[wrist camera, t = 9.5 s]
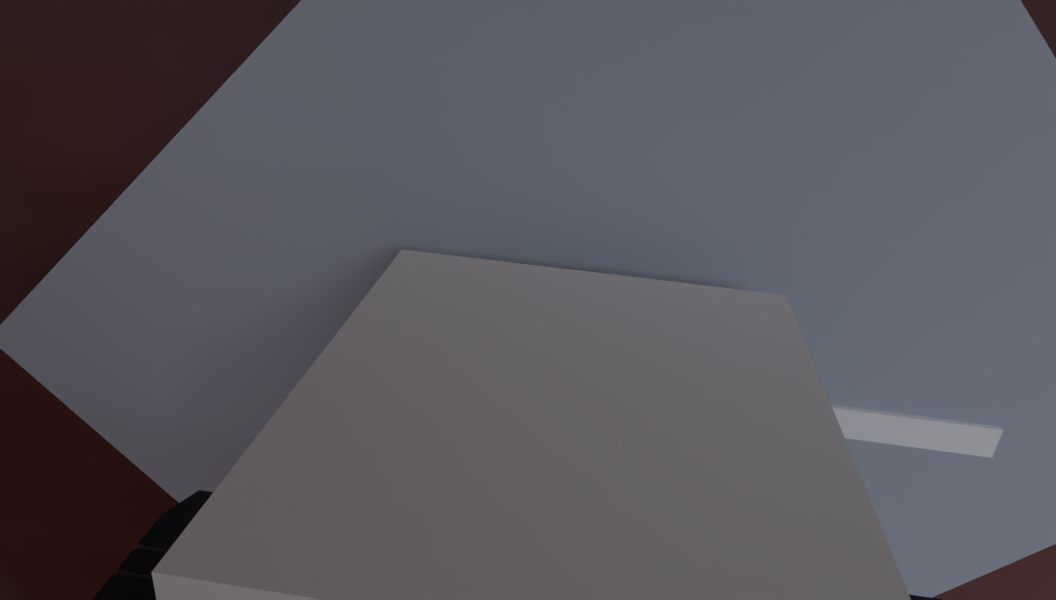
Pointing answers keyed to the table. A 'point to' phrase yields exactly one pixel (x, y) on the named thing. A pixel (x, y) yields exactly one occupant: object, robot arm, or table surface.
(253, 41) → the table surface
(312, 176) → the plate
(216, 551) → the white box
